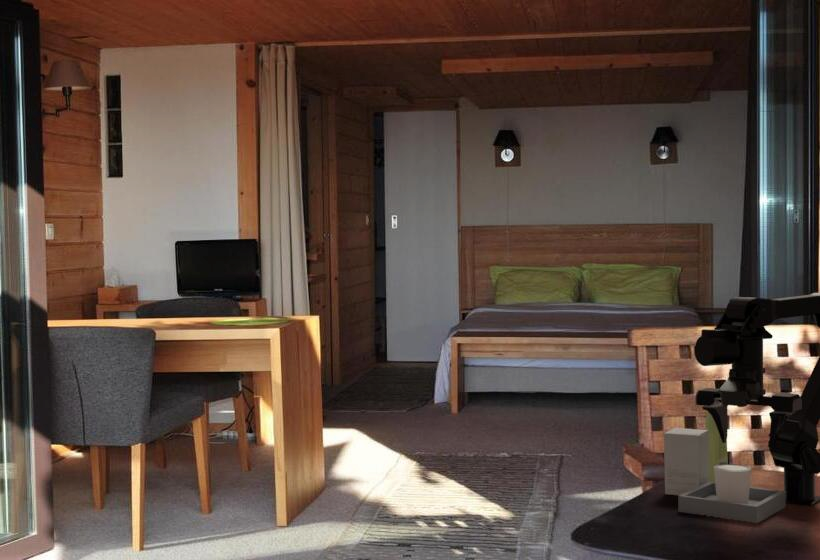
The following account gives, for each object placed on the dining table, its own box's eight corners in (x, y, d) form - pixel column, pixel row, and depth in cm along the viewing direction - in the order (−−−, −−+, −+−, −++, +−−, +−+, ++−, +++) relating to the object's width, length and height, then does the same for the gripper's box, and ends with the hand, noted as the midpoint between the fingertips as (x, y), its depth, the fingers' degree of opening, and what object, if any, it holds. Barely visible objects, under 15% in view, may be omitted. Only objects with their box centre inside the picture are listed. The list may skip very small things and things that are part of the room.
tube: (699, 478, 228) (698, 388, 227) (722, 477, 228) (721, 387, 228) (709, 484, 222) (708, 391, 222) (732, 483, 223) (732, 390, 222)
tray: (709, 496, 211) (709, 481, 211) (785, 506, 202) (785, 491, 202) (678, 511, 199) (678, 495, 199) (757, 523, 190) (757, 506, 190)
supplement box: (710, 491, 216) (710, 429, 215) (699, 498, 210) (699, 435, 209) (675, 487, 220) (674, 426, 219) (663, 494, 213) (662, 432, 213)
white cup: (754, 508, 196) (753, 471, 196) (715, 507, 198) (715, 470, 197) (749, 500, 203) (749, 464, 203) (712, 499, 204) (712, 463, 204)
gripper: (683, 364, 200) (683, 446, 201) (782, 370, 189) (782, 457, 189) (706, 359, 209) (707, 438, 209) (802, 364, 197) (803, 447, 198)
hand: (747, 445), depth 201 cm, fingers open, 9 cm apart
